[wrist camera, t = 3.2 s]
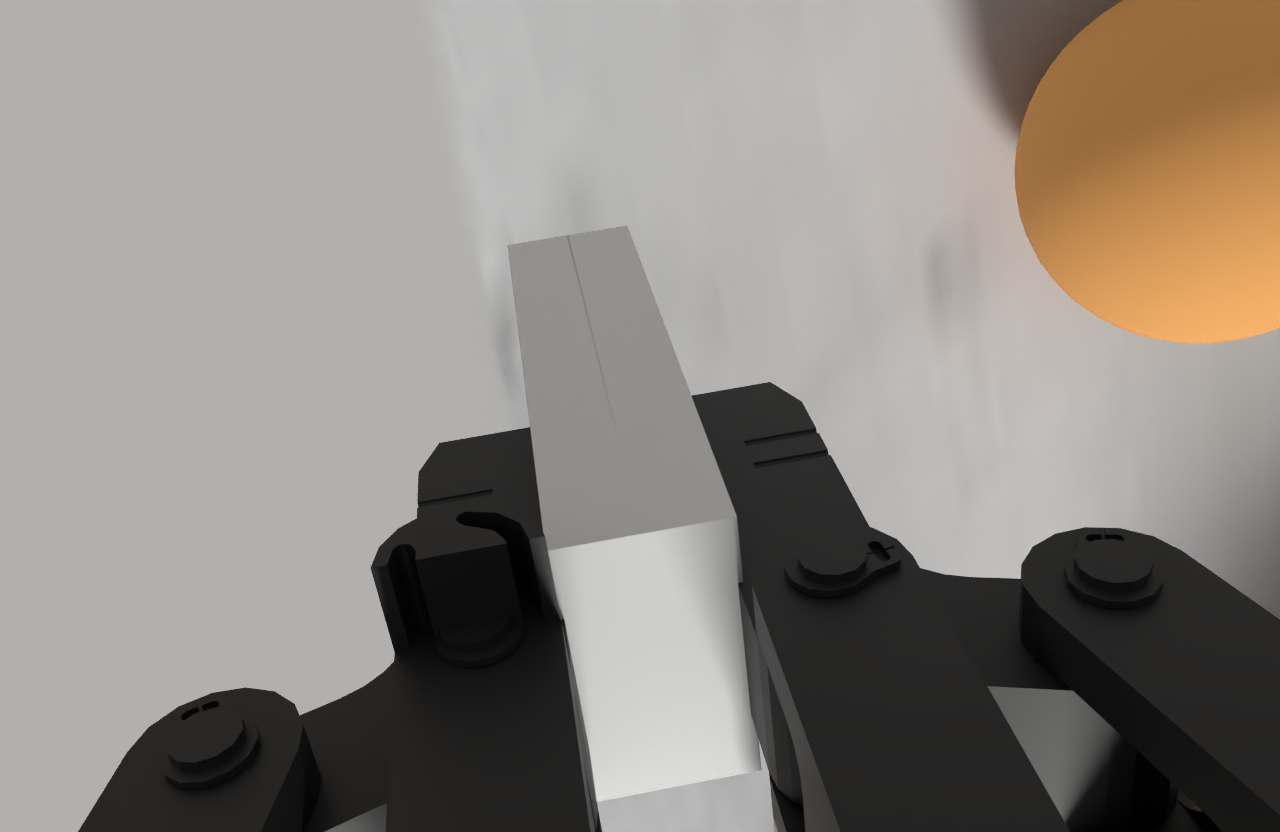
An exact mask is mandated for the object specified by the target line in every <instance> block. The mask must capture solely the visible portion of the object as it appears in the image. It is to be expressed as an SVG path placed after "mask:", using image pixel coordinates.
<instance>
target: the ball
mask: <svg viewBox="0 0 1280 832" xmlns="http://www.w3.org/2000/svg"><path fill="white" fill-rule="evenodd" d="M1015 189H1016V195H1017V201H1018V207H1019V212H1020V217H1021V220H1022V223H1023V226H1024V229H1025V232H1026V235H1027V237H1028V239H1029V241H1030V243H1031V245H1032V247H1033V249H1034V251H1035V253H1036V255H1037V257H1038V259H1039V261H1040V262H1041V264H1042V265H1043V267H1044V268H1045V269H1046V271H1047V272H1048V273H1049V275H1050V276H1051V277H1052V278H1053V280H1054V281H1055V282H1056V283H1057V284H1058V285H1059V286H1060V287H1061V288H1062V289H1063V290H1064V291H1065V292H1066V293H1067V294H1068V295H1069V296H1070V297H1071V298H1072V299H1073V300H1074V301H1076V302H1077V303H1079V304H1080V305H1081V306H1083V307H1084V308H1086V309H1087V310H1089V311H1090V312H1091V313H1093V314H1094V315H1096V316H1097V317H1099V318H1100V319H1102V320H1104V321H1106V322H1109V323H1111V324H1113V325H1115V326H1117V327H1119V328H1122V329H1124V330H1126V331H1129V332H1132V333H1135V334H1138V335H1142V336H1145V337H1148V338H1154V339H1159V340H1165V341H1172V342H1178V343H1217V342H1226V341H1235V340H1239V339H1244V338H1248V337H1252V336H1256V335H1260V334H1263V333H1266V332H1269V331H1272V330H1275V329H1278V328H1280V0H1123V1H1121V2H1119V3H1118V4H1116V5H1115V6H1113V7H1112V8H1110V9H1109V10H1107V11H1106V12H1104V13H1102V14H1101V15H1100V16H1098V17H1097V18H1096V19H1095V20H1094V21H1092V22H1091V23H1090V24H1089V25H1088V26H1086V27H1085V28H1084V29H1083V30H1082V31H1080V32H1079V33H1078V34H1077V35H1076V36H1075V37H1074V38H1073V39H1072V40H1071V41H1070V43H1069V44H1068V45H1067V46H1066V47H1065V48H1064V49H1063V50H1062V51H1061V52H1060V54H1059V55H1058V56H1057V58H1056V59H1055V60H1054V61H1053V63H1052V64H1051V65H1050V67H1049V68H1048V70H1047V71H1046V73H1045V75H1044V76H1043V78H1042V79H1041V81H1040V83H1039V84H1038V86H1037V88H1036V90H1035V92H1034V95H1033V97H1032V99H1031V101H1030V103H1029V105H1028V108H1027V111H1026V114H1025V117H1024V120H1023V123H1022V126H1021V131H1020V135H1019V140H1018V144H1017V149H1016V160H1015Z"/></svg>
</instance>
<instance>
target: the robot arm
mask: <svg viewBox="0 0 1280 832" xmlns="http://www.w3.org/2000/svg"><path fill="white" fill-rule="evenodd" d="M508 253H509V261H510V269H511V277H512V285H513V293H514V301H515V309H516V317H517V325H518V333H519V341H520V349H521V357H522V365H523V373H524V381H525V390H526V398H527V406H528V414H529V422H530V427H529V428H523V429H518V430H512V431H506V432H500V433H495V434H489V435H483V436H477V437H472V438H466V439H460V440H454V441H448V442H443V443H439V444H438V446H437V447H436V449H435V450H434V452H433V453H432V454H431V456H430V457H429V459H428V460H427V461H426V463H425V464H424V466H423V467H422V468H421V470H420V471H419V479H418V507H419V508H417V519H415V520H413V521H411V522H409V523H408V524H406V525H404V526H402V527H401V528H398V529H397V531H395V532H394V533H393V534H392V535H391V536H390V537H389V538H388V539H387V540H386V541H385V542H384V543H383V544H382V545H381V546H380V547H379V549H378V551H377V554H376V556H375V559H374V561H373V564H372V566H371V571H372V574H373V578H374V581H375V585H376V588H377V592H378V595H379V598H380V602H381V606H382V609H383V612H384V616H385V620H386V623H387V627H388V630H389V634H390V637H391V641H392V644H393V648H394V651H395V658H394V662H393V663H392V664H391V665H390V666H389V667H388V668H387V669H386V671H384V672H383V673H382V674H381V675H379V676H378V677H376V678H375V679H374V680H373V681H371V682H369V683H368V684H367V685H365V686H364V687H362V688H360V689H358V690H356V691H354V692H352V693H350V694H348V695H347V696H344V697H342V698H341V699H338V700H336V701H333V702H331V703H329V704H326V705H324V706H321V707H319V708H317V709H314V710H312V711H310V712H307V713H305V714H302V715H300V716H299V713H298V711H297V709H296V706H295V704H294V703H292V702H290V701H289V700H287V699H285V698H284V697H282V696H281V695H279V694H278V693H276V692H274V691H267V690H259V689H252V688H241V689H234V690H229V691H222V692H215V693H211V694H209V695H207V696H204V697H201V698H199V699H196V700H194V701H191V702H189V703H186V704H184V705H182V706H179V707H177V708H176V709H175V710H173V711H172V712H170V713H169V714H168V715H166V716H165V717H163V718H162V719H160V720H159V721H157V722H156V723H154V724H153V725H151V726H150V727H149V728H148V729H147V730H146V731H145V732H144V733H143V735H142V736H141V737H140V738H139V739H138V740H137V742H136V743H135V744H134V745H133V746H132V747H131V749H130V750H129V751H128V752H127V754H126V755H125V757H124V758H123V760H122V762H121V764H120V765H119V766H118V768H117V770H116V771H115V773H114V775H113V776H112V778H111V779H110V781H109V783H108V784H107V786H106V788H105V789H104V791H103V793H102V794H101V796H100V797H99V799H98V800H97V802H96V804H95V805H94V807H93V809H92V810H91V812H90V813H89V815H88V817H87V818H86V820H85V822H84V823H83V825H82V826H81V828H80V830H79V831H78V832H602V828H601V823H600V818H599V813H598V807H597V802H599V801H604V800H609V799H614V798H620V797H625V796H630V795H635V794H640V793H645V792H651V791H656V790H661V789H666V788H671V787H676V786H682V785H687V784H692V783H697V782H702V781H707V780H712V779H718V778H723V777H728V776H733V775H738V774H743V773H749V772H754V771H759V770H761V761H760V750H759V741H760V744H761V748H762V751H763V754H764V757H765V760H766V764H767V767H768V770H769V775H770V786H771V797H772V808H773V818H774V829H775V832H1280V620H1279V619H1278V618H1277V617H1275V616H1274V615H1272V614H1271V613H1269V612H1268V611H1267V610H1265V609H1264V608H1262V607H1261V606H1260V605H1258V604H1257V603H1255V602H1254V601H1252V600H1251V599H1250V598H1248V597H1247V596H1245V595H1244V594H1242V593H1241V592H1240V591H1238V590H1237V589H1235V588H1234V587H1233V586H1231V585H1230V584H1228V583H1227V582H1225V581H1224V580H1223V579H1221V578H1220V577H1218V576H1217V575H1215V574H1214V573H1213V572H1211V571H1210V570H1208V569H1207V568H1206V567H1204V566H1203V565H1201V564H1200V563H1198V562H1197V561H1196V560H1194V559H1193V558H1191V557H1190V556H1188V555H1187V554H1186V553H1184V552H1183V551H1181V550H1179V549H1177V548H1175V547H1173V546H1171V545H1169V544H1167V543H1165V542H1163V541H1161V540H1159V539H1157V538H1156V537H1154V536H1150V535H1145V534H1141V533H1137V532H1133V531H1129V530H1125V529H1120V528H1087V527H1085V528H1081V529H1076V530H1071V531H1067V532H1062V533H1057V534H1054V535H1053V536H1051V537H1049V538H1047V539H1046V540H1044V541H1042V542H1040V543H1039V544H1037V545H1035V546H1033V547H1032V549H1031V551H1030V552H1029V554H1028V555H1027V557H1026V558H1025V560H1024V562H1023V563H1022V566H1021V579H1009V578H978V577H963V576H954V575H944V574H940V573H936V572H933V571H929V570H925V569H921V568H920V567H919V566H918V564H917V562H916V560H915V559H914V557H913V555H912V554H911V553H910V552H909V551H908V550H907V549H906V548H905V547H904V546H903V545H902V544H901V543H900V542H899V541H898V540H897V539H895V538H893V537H891V536H889V535H887V534H885V533H882V532H880V531H878V530H876V529H874V528H871V527H869V525H868V523H867V521H866V520H865V518H864V516H863V514H862V512H861V510H860V508H859V507H858V505H857V503H856V501H855V499H854V497H853V496H852V494H851V492H850V490H849V488H848V486H847V484H846V483H845V481H844V479H843V477H842V475H841V473H840V472H839V470H838V468H837V466H836V464H835V462H834V460H833V459H832V457H831V455H828V449H827V448H826V446H825V444H824V442H823V440H822V438H821V436H820V435H819V433H818V434H817V432H816V427H815V425H814V424H813V422H812V420H811V418H810V416H809V414H808V412H807V411H806V409H805V407H804V405H803V403H802V402H801V401H800V400H798V399H796V398H795V397H793V396H792V395H790V394H788V393H787V392H785V391H784V390H782V389H780V388H779V387H777V386H776V385H774V384H772V383H771V382H768V383H762V384H757V385H751V386H745V387H739V388H733V389H728V390H722V391H716V392H710V393H705V394H699V395H693V396H691V394H690V391H689V388H688V386H687V383H686V380H685V378H684V375H683V372H682V370H681V367H680V364H679V362H678V359H677V357H676V354H675V351H674V349H673V346H672V343H671V341H670V338H669V335H668V333H667V330H666V327H665V325H664V322H663V319H662V317H661V314H660V311H659V309H658V306H657V304H656V301H655V298H654V296H653V293H652V290H651V288H650V285H649V282H648V280H647V277H646V274H645V272H644V269H643V266H642V264H641V261H640V258H639V256H638V253H637V251H636V248H635V245H634V243H633V240H632V237H631V235H630V232H629V229H628V227H627V226H622V227H616V228H610V229H604V230H598V231H592V232H586V233H580V234H574V235H567V236H561V237H555V238H549V239H543V240H537V241H531V242H525V243H519V244H513V245H508ZM758 738H759V740H758Z"/></svg>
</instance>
